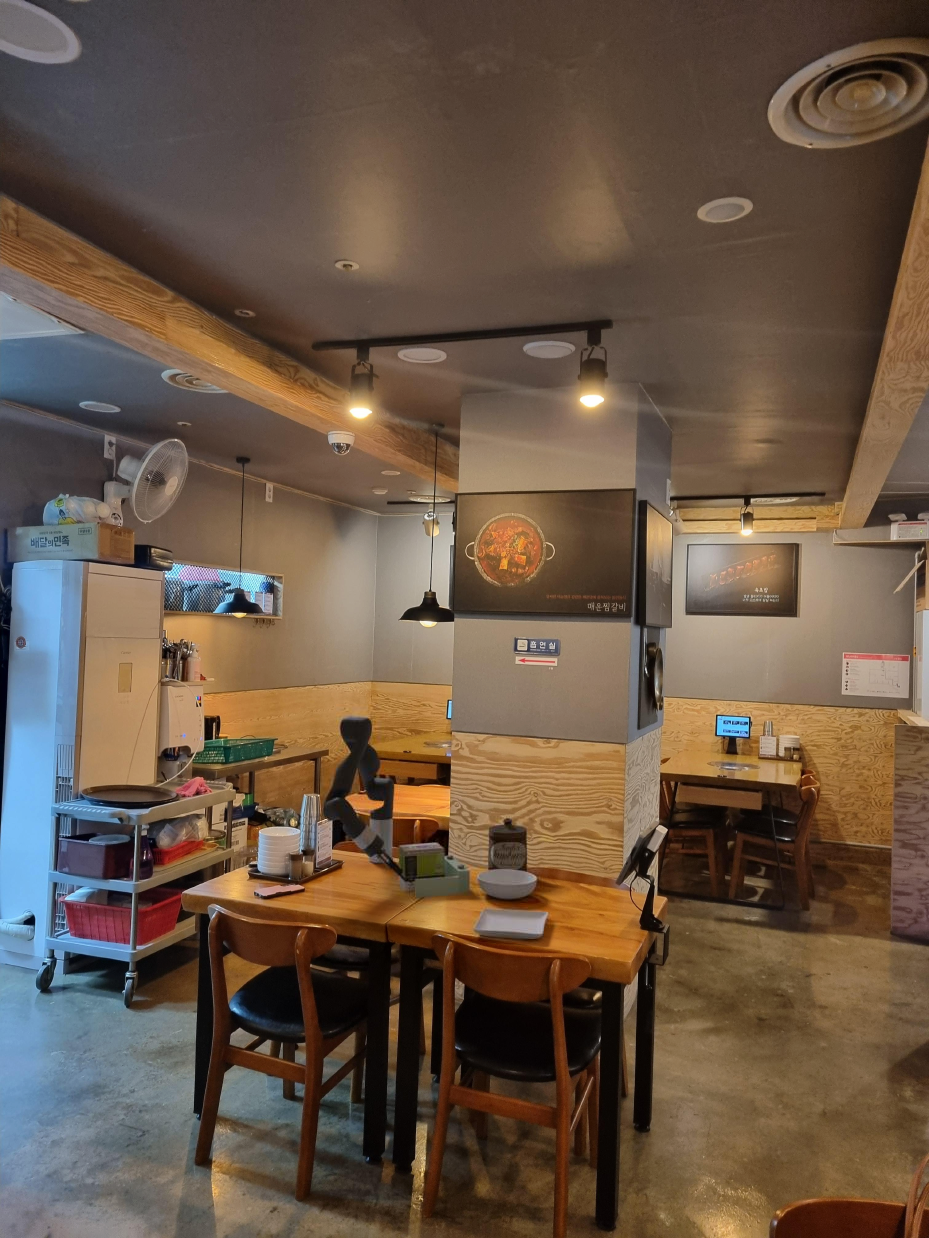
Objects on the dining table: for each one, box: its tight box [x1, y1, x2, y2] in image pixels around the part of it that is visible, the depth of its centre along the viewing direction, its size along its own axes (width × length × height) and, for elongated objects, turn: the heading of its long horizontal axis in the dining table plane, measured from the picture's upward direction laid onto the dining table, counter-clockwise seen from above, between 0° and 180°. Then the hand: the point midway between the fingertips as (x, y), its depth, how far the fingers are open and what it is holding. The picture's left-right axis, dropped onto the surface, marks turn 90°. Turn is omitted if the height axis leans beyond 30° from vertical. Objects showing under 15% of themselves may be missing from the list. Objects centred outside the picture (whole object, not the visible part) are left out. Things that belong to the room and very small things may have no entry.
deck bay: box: [414, 854, 471, 898], centre depth 308 cm, size 22×20×9 cm
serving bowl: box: [477, 869, 538, 900], centre depth 299 cm, size 21×21×7 cm
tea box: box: [398, 842, 445, 892], centre depth 308 cm, size 15×10×15 cm, turn 107°
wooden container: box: [487, 817, 528, 872], centre depth 325 cm, size 15×15×22 cm
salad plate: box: [472, 908, 549, 940], centre depth 263 cm, size 21×21×3 cm
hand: (400, 873), depth 305 cm, fingers closed
